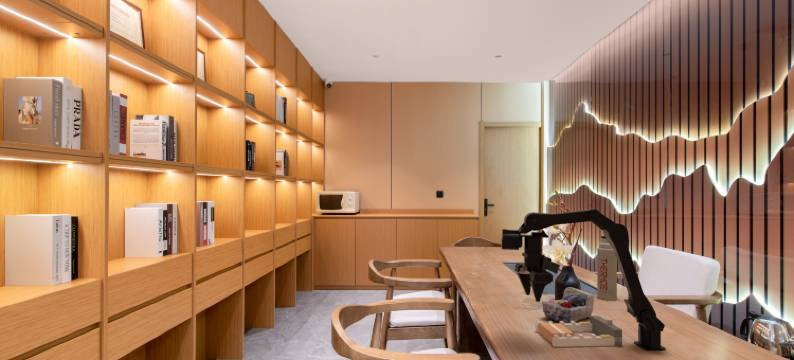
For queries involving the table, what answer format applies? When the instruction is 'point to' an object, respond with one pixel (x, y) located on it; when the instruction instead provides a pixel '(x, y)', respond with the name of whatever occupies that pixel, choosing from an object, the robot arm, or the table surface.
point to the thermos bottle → (606, 271)
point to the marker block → (554, 331)
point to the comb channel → (598, 325)
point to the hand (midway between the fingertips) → (532, 298)
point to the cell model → (570, 306)
